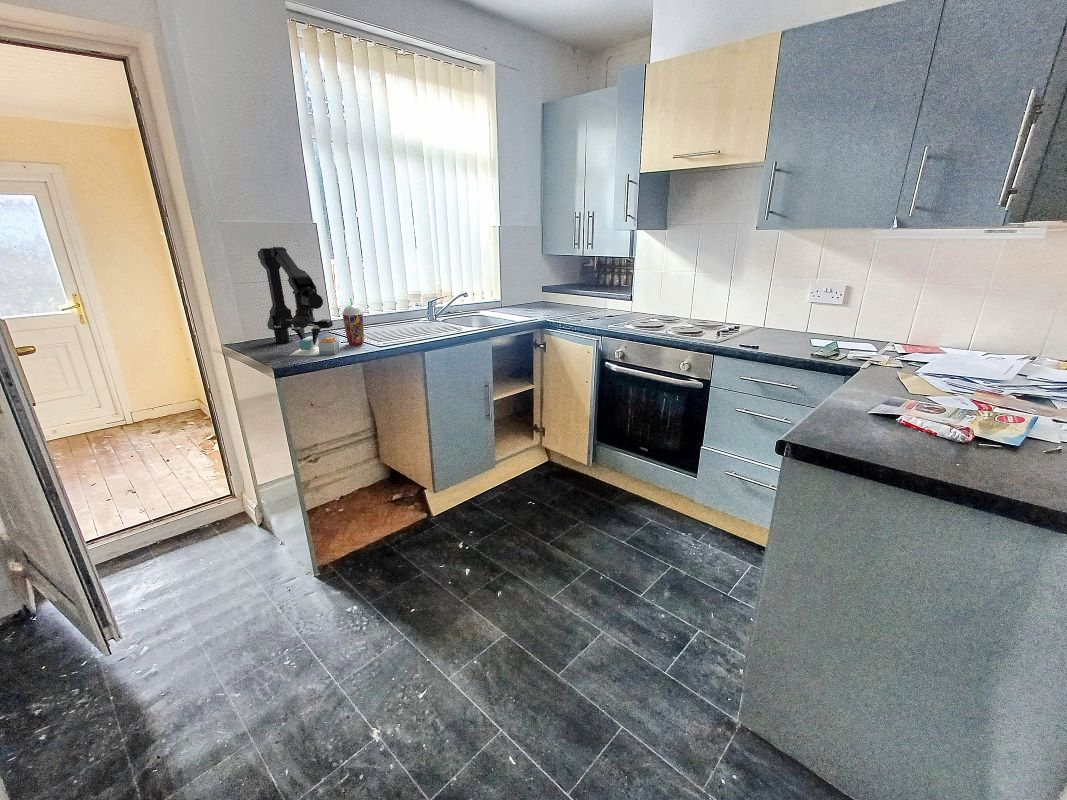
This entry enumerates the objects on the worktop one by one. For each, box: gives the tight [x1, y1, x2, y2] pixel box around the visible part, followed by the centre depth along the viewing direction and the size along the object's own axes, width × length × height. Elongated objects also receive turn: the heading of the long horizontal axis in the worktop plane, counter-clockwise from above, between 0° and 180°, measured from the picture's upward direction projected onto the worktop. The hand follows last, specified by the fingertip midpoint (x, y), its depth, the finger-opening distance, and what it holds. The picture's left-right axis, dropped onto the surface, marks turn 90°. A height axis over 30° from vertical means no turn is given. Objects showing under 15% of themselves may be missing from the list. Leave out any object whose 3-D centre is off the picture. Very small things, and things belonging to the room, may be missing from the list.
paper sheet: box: [289, 345, 320, 356], centre depth 191 cm, size 16×11×1 cm
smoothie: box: [342, 297, 365, 347], centre depth 201 cm, size 8×8×20 cm
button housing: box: [317, 339, 341, 356], centre depth 188 cm, size 6×6×4 cm
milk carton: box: [299, 335, 320, 350], centre depth 190 cm, size 10×4×4 cm, turn 5°
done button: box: [320, 336, 336, 343], centre depth 187 cm, size 4×4×3 cm
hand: (309, 344), depth 191 cm, fingers closed on milk carton, 3 cm apart
